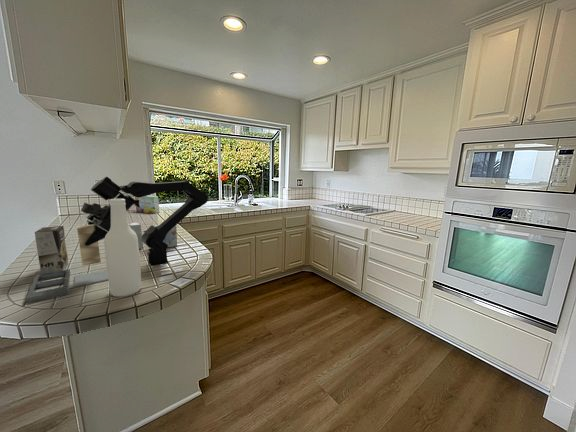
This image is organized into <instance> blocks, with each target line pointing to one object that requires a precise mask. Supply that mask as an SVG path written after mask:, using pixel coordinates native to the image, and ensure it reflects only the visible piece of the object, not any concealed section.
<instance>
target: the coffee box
mask: <svg viewBox="0 0 576 432" xmlns="http://www.w3.org/2000/svg"><path fill="white" fill-rule="evenodd" d="M34 237H35V243H36V244H35V245H36V251H37V256H38V263H39V264H38V265H39V268H40V269H39V270H40V274H46V273H51V272H57V271H63V270H66V268H67V266H68V265H69V264H70V263H69V257H68V250H67V243H66V242H67V241H66V237H65V229H64V225H59V226H58V225H56V226H48V227H46V226H45V227H41V228H39V229H38V230H36V231H34Z"/></svg>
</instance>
